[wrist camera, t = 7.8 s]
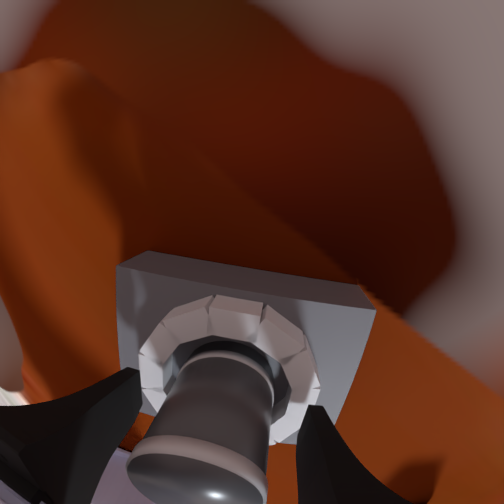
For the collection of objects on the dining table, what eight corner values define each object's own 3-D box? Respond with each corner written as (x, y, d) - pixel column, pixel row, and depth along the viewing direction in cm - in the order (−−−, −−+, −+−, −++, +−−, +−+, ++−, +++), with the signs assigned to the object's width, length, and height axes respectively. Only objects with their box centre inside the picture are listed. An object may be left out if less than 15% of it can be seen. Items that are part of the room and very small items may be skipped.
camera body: (147, 375, 18) (115, 420, 13) (147, 250, 16) (100, 273, 11) (319, 408, 17) (326, 463, 12) (358, 285, 15) (386, 323, 11)
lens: (187, 405, 14) (141, 505, 7) (180, 333, 13) (107, 436, 6) (272, 415, 14) (261, 528, 7) (279, 342, 13) (272, 468, 6)
